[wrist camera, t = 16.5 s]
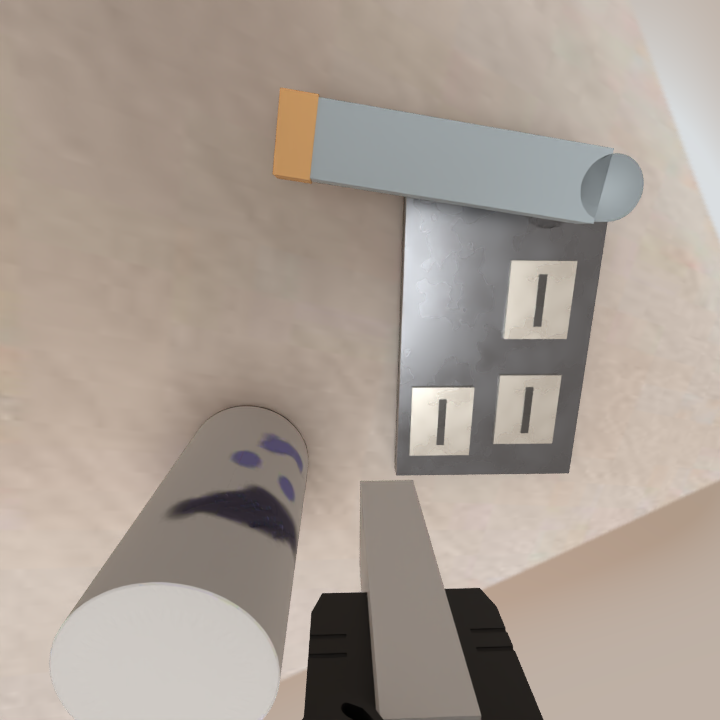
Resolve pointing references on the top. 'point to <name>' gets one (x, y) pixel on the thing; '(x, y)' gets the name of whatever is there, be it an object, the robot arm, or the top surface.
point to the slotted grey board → (492, 339)
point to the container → (195, 585)
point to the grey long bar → (451, 161)
